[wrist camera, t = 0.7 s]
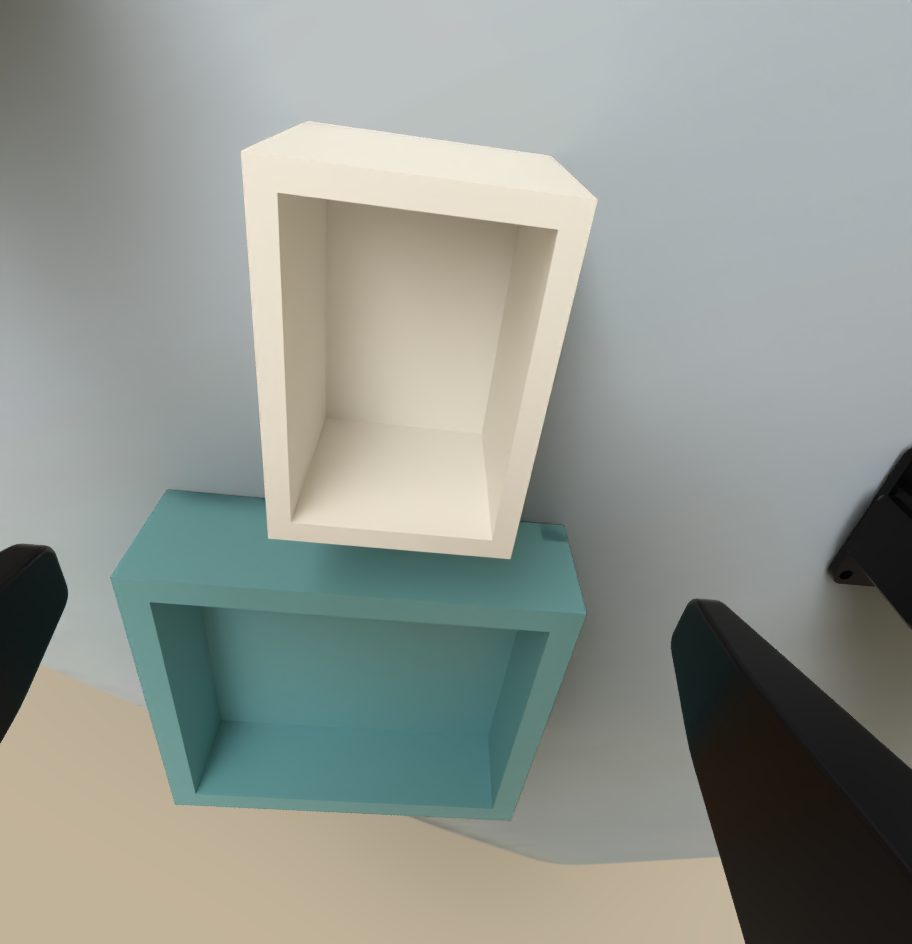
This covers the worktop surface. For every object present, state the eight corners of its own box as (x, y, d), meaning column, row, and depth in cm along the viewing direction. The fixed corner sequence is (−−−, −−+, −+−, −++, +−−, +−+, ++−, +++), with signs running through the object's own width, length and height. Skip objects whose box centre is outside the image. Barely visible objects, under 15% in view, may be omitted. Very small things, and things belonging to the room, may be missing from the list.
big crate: (564, 525, 23) (586, 614, 19) (503, 730, 31) (510, 820, 27) (166, 489, 22) (110, 577, 18) (208, 712, 30) (175, 804, 26)
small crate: (550, 155, 16) (597, 199, 11) (495, 441, 21) (510, 558, 16) (306, 120, 15) (240, 150, 10) (311, 422, 20) (268, 538, 15)
